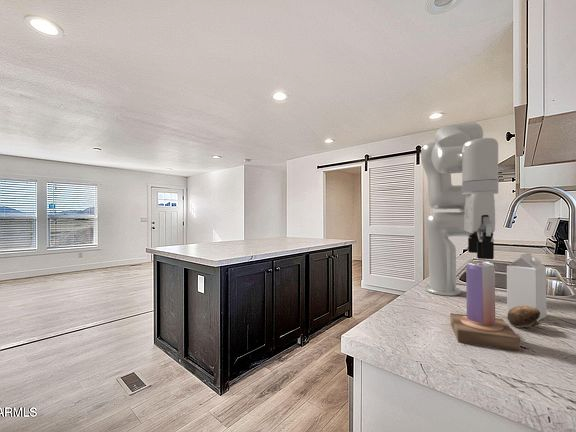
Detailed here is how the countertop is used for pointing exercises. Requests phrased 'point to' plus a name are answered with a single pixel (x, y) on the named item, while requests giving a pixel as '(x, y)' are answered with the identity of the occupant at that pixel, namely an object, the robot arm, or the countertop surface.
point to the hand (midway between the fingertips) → (480, 255)
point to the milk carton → (527, 284)
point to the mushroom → (523, 316)
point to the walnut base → (484, 333)
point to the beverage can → (480, 293)
